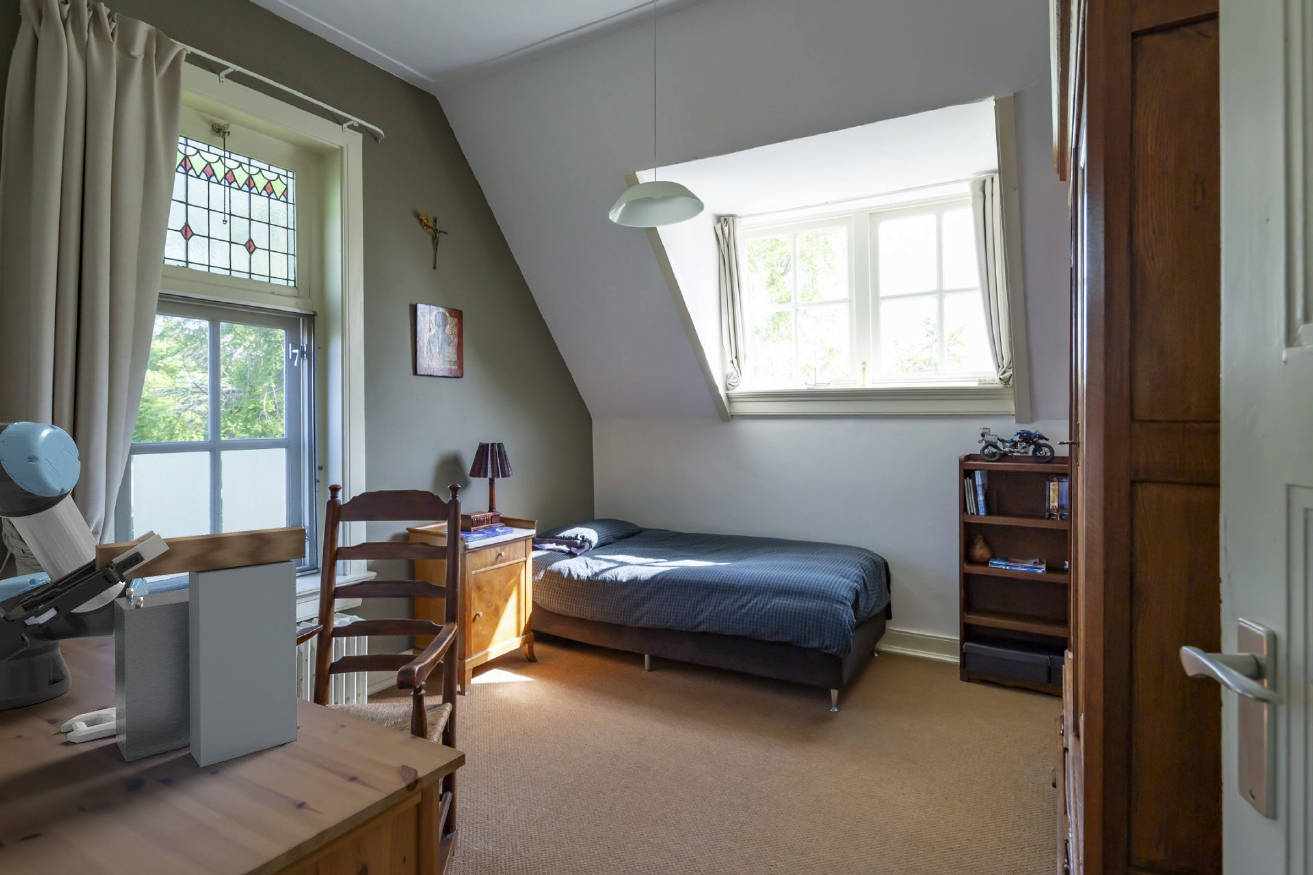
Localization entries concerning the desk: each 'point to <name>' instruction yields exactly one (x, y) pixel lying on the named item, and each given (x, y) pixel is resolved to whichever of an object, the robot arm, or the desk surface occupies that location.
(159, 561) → the rail
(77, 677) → the desk surface
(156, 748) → the plate
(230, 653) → the stand
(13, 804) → the desk surface
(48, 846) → the desk surface
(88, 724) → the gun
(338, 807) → the desk surface
